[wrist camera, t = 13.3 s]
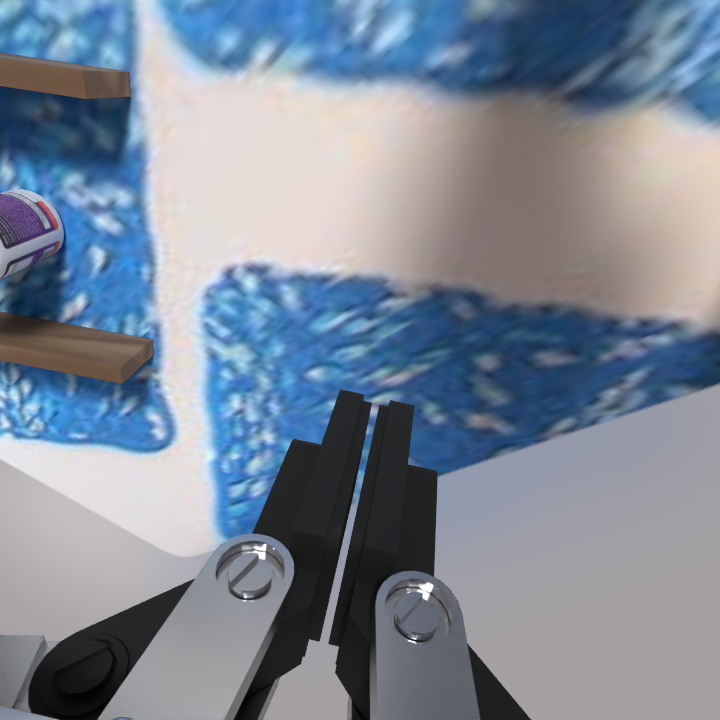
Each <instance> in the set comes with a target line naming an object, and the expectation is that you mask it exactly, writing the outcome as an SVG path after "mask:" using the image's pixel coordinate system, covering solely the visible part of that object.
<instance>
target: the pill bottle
mask: <svg viewBox="0 0 720 720" xmlns="http://www.w3.org/2000/svg"><path fill="white" fill-rule="evenodd" d="M63 240H64V228H63V224H62V221H61V219H60V217H59V215H58V213H57V212H56V210H55V209H54V207H53V206H52V205H51V204H50V203H49V202H48V201H47V200H46V199H44V198H43V197H42V196H40V195H38V194H36V193H34V192H31V191H28V190H22V189H17V190H11V191H7V192H3V193H0V279H2V278H4V277H6V276H9V275H11V274H13V273H15V272H17V271H19V270H22V269H24V268H26V267H28V266H30V265H32V264H34V263H36V262H39V261H41V260H43V259H45V258H47V257H49V256H51V255H53V254H54V253H56V252H57V251H58V250H59V249H60V247H61V246H62V243H63Z"/></svg>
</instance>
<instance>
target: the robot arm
mask: <svg viewBox="0 0 720 720" xmlns="http://www.w3.org/2000/svg"><path fill="white" fill-rule="evenodd" d="M363 399H364V394H360V393H355V392H350V391H346V390H340V392H339V395H338V397H337V400H336V403H335V406H334V409H333V412H332V415H331V418H330V421H329V424H328V427H327V429H326V432H325V435H324V438H323V441H322V444H321V445H319V444H314V443H310V442H306V441H301V440H297V439H294V440H293V441H292V442H291V444H290V447H289V449H288V451H287V454H286V456H285V458H284V461H283V463H282V465H281V468H280V470H279V472H278V475H277V477H276V479H275V482H274V484H273V487H272V489H271V491H270V494H269V496H268V498H267V501H266V503H265V505H264V508H263V510H262V512H261V515H260V517H259V520H258V522H257V524H256V527H255V529H254V531H253V534H244V535H240V536H237V537H234V538H231V539H230V540H228V541H226V542H225V543H223V544H221V545H220V546H219V547H218V548H217V549H216V550H215V552H214V553H213V554H212V555H211V556H210V558H209V559H208V561H207V562H206V564H205V565H204V567H203V568H202V570H201V571H200V573H199V574H198V575H197V577H196V578H195V579H193V580H191V581H188V582H186V583H184V584H182V585H180V586H177V587H175V588H173V589H171V590H169V591H166V592H164V593H162V594H160V595H158V596H156V597H153V598H151V599H149V600H147V601H145V602H142V603H140V604H138V605H136V606H133V607H131V608H129V609H127V610H125V611H122V612H120V613H118V614H116V615H114V616H111V617H109V618H107V619H105V620H103V621H100V622H98V623H96V624H94V625H91V626H89V627H87V628H85V629H83V630H80V631H79V632H76V633H74V634H73V635H71V636H69V637H68V638H66V639H64V640H62V641H45V637H44V635H0V720H263V718H264V716H265V713H266V711H267V709H268V706H269V704H270V702H271V699H272V697H273V695H274V693H275V690H276V688H277V686H278V682H279V678H280V677H281V676H282V675H284V674H286V673H287V672H289V671H290V670H292V669H294V668H295V667H296V666H298V665H300V664H301V661H302V657H303V656H305V653H306V649H307V645H308V641H309V639H311V640H315V641H320V637H321V633H322V629H323V624H324V620H325V616H326V611H327V607H328V603H329V598H330V594H331V589H332V585H333V580H334V576H335V572H336V568H337V563H338V559H339V555H340V550H341V546H342V541H343V537H344V532H345V528H346V524H347V520H348V515H349V511H350V507H351V502H352V498H353V493H354V488H355V484H356V479H357V474H358V469H359V464H360V459H361V454H362V449H363V445H364V440H365V435H366V430H367V425H368V420H369V415H370V410H371V406H372V403H371V402H366V401H363ZM413 412H414V405H410V404H405V403H401V402H396V401H392V400H390V403H389V406H384V405H379V410H378V414H377V419H376V424H375V428H374V433H373V438H372V442H371V447H370V452H369V456H368V461H367V465H366V470H365V475H364V479H363V484H362V489H361V493H360V498H359V503H358V508H357V512H356V517H355V521H354V527H353V531H352V536H351V540H350V545H349V550H348V555H347V559H346V564H345V568H344V574H343V578H342V582H341V587H340V592H339V597H338V601H337V606H336V611H335V616H334V620H333V625H332V629H331V634H330V639H329V644H331V645H335V646H339V649H338V655H337V660H336V665H337V666H336V671H335V673H336V675H337V676H338V678H339V679H340V681H341V683H342V684H343V686H344V687H345V689H346V691H347V693H348V694H349V699H348V710H347V711H348V712H347V720H531V719H530V718H529V717H528V716H527V714H526V713H525V712H524V711H523V710H522V708H521V707H520V706H519V705H518V704H517V702H516V701H515V700H514V699H513V698H512V696H511V695H510V694H509V693H508V692H507V690H506V689H505V688H504V687H503V686H502V684H501V683H500V682H499V681H498V680H497V678H496V677H495V676H494V675H493V674H492V672H491V671H490V670H489V669H488V668H487V666H486V665H485V664H484V663H483V662H482V660H481V659H480V658H479V657H478V656H477V655H476V653H475V652H474V651H473V650H472V648H471V647H470V646H469V645H468V644H467V639H466V633H465V627H464V622H463V616H462V612H461V609H460V606H459V603H458V600H457V599H456V597H455V596H454V594H453V593H452V591H451V590H450V589H449V588H448V587H447V586H446V585H445V584H444V583H442V582H441V581H440V580H438V579H436V578H435V577H434V560H435V532H436V531H435V530H436V503H437V471H435V470H430V469H426V468H421V467H417V466H412V465H408V457H409V448H410V439H411V430H412V421H413Z"/></svg>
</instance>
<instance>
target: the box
mask: <svg viewBox="0 0 720 720" xmlns="http://www.w3.org/2000/svg"><path fill="white" fill-rule="evenodd" d="M0 86H5V87H11V88H18V89H24V90H31V91H37V92H44V93H50V94H57V95H63V96H70V97H76V98H83V99H98V98H116V97H131V93H130V82H129V72H126V71H119V70H113V69H106V68H99V67H93V66H86V65H79V64H73V63H66V62H59V61H52V60H46V59H39V58H32V57H26V56H19V55H12V54H6V53H0ZM153 355H154V353H153V342H152V339H146V338H141V337H135V336H130V335H124V334H119V333H114V332H108V331H103V330H97V329H92V328H86V327H81V326H76V325H70V324H65V323H59V322H54V321H48V320H43V319H38V318H32V317H27V316H21V315H16V314H10V313H5V312H0V360H1V361H7V362H12V363H17V364H22V365H28V366H33V367H38V368H43V369H48V370H54V371H59V372H64V373H69V374H75V375H80V376H85V377H90V378H96V379H101V380H106V381H111V382H117V383H122V384H123V383H124V382H125V381H126V380H127V379H128V378H129V377H130V376H131V375H132V374H134V373H135V372H136V371H137V370H138V369H139V368H140V367H141V366H142V365H143V364H144V363H145V362H146V361H147V360H148V359H149V358H150V357H152V356H153Z"/></svg>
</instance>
